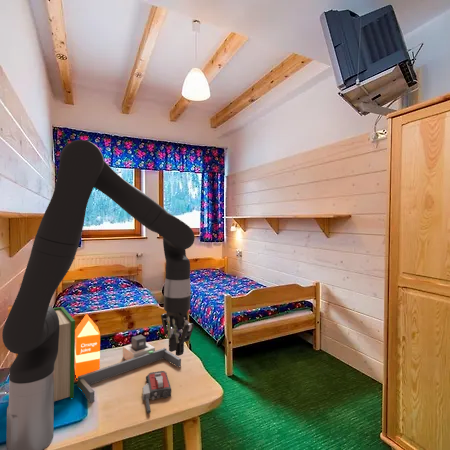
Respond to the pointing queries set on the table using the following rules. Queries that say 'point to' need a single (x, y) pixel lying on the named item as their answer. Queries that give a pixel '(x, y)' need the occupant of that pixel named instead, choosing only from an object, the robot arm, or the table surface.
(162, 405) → the table surface
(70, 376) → the hardback book
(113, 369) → the cradle
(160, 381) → the walkie-talkie
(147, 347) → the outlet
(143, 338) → the plug
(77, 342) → the orange juice
